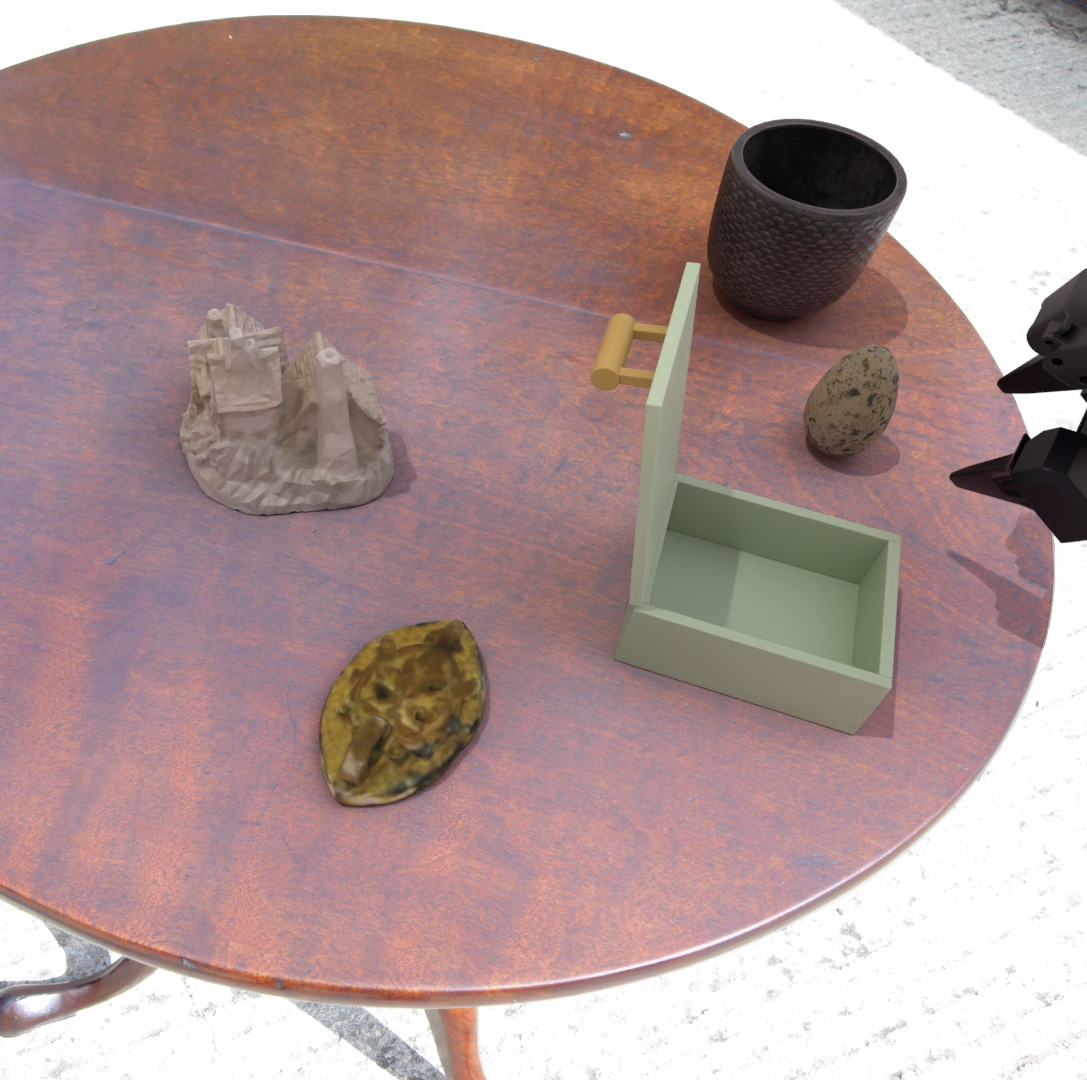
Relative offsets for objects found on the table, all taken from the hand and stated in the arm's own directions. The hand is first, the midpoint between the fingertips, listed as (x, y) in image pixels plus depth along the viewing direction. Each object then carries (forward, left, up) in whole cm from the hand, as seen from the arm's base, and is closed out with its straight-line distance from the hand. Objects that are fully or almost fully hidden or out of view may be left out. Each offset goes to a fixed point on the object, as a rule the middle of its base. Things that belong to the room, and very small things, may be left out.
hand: (977, 432), depth 73 cm
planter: (+12, -23, -9) cm, 27 cm away
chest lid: (+22, +13, +6) cm, 26 cm away
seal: (+34, +27, -9) cm, 44 cm away
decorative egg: (+7, -5, -9) cm, 12 cm away
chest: (+13, +14, -8) cm, 21 cm away
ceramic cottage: (+48, +6, -9) cm, 49 cm away
